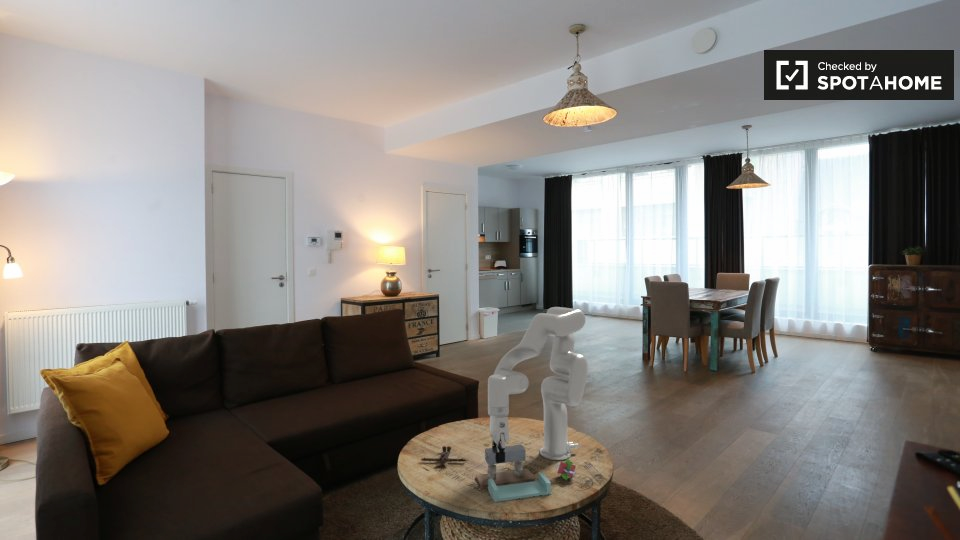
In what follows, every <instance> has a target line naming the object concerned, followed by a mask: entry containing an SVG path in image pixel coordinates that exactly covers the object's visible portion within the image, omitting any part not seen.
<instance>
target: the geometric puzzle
mask: <svg viewBox="0 0 960 540" xmlns="http://www.w3.org/2000/svg"><path fill="white" fill-rule="evenodd" d="M564 460H565V461H564ZM564 460H560V461H558V462H557V463H556V465H555V471H556V473H557V474H558V475H559V476H560V477H562V479H564V480H565V481H566V482H568V481H569V480H570V479H572V478H573V477H575V475H576V474H577V472H576V471H575V470H576V466H577V465H575V464H573V462H572V461H571V460H569V458H566V459H564ZM563 461H564V462H563ZM569 477H570V478H569ZM568 478H569V479H568Z"/></svg>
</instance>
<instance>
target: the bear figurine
mask: <svg viewBox="0 0 960 540" xmlns="http://www.w3.org/2000/svg"><path fill="white" fill-rule="evenodd" d="M451 451H452V447H451V446H449V445H448V446H445V445H444V446H442V452H441V454H440V457H437V458H435V457H431V458H430V457H422V458H420V461H423V462H437V463H436V464H435V465H436V466H440V467H442V468H443V467H444V468H445V467H447V466H448V465H449V463H452V462H460V463H461V462H466V461H467V459H466V458H464V457H462V458H449V456H450V454H451ZM448 462H449V463H448Z"/></svg>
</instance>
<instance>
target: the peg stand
mask: <svg viewBox="0 0 960 540" xmlns="http://www.w3.org/2000/svg"><path fill="white" fill-rule="evenodd" d="M513 463H514V464H513V465H514V466H513V468H514V470H513V469H512V470H505V471H497V464H491V465H488V464H487V473H481V474H476V475H475V476H476V477H475V478H476V480H477V482H478V484H479V486H480V488H481V489H485V488H488V479H493V480H494V482H495V484H496V486H503V485H511V484H518V483H526V482H534V481H536V478H535V476H534V475H533V473H532V472H531V471H530V470H529V468H523V467H524V466H523V461H516V462H513Z"/></svg>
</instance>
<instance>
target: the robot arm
mask: <svg viewBox="0 0 960 540" xmlns="http://www.w3.org/2000/svg"><path fill="white" fill-rule="evenodd" d="M585 325H586V315H585V313H584V312H583V310H581V309H578V308H572V307H571V308H569V307H563V306H561V307H560V306H553V307H550V308H548V309H547V310H546V313H545V312H541V313H537V314H535V315H534V316H533V318H532V319H531V322H530V324H529V325H528V327H527V329H526V331H525V333H524V335H523V337H522V338H521V341H520V343H519V344H517V345H515V346H514V347H513V348H511V349H510V350H509V351H507V353H505V354H504V355H503V356H502V357H501V359H500V360H499V362H498V364H497V365H496V367H495V369H494V372H493V374H491V375H490V376H489V377H488V379H487V414H488V416H489V435H490V438H491V440H492V441H491V448H496V447H497V452H496V463H499V464H505V463H504V462H505V448H506V444H509V443H510V428H509V419H508V416H509V411H510V409H509V408H510V405H509V403H510V402H509V401H510V397H509V396H510V395H516V394H517V395H518V394H521V393H524V392H525V391H527V390H528V388H529V385H530V381H529V378H528V376H527V375H525V374H524V373H522V372H519V371H516V370H513V368H515V366H517V364H520V363H521V362H522V361H526V360H529V359H532V358H535V357H537V356H539V355H540V354H541V352H542V350H543V348H544V347H545V344H546V342H547V340H548V338H549V337H553V343H552V348H551V354H550V359H549V368H550V371H551V372H553V373H555V374H558V375H561V376H566V377H568V379H567V378H563V377H558V376H554V375H553V376H552V375H551V376H547V377H546V378H544V379H543V380H542V382H541V386H540V391H541V397H542V405H543V446H542V447H541V448H540V449H539V453H540V455H541V456H542V457H543V458H545V459H548V460H552V461H553V460H554V461H564V459H565V460H566V458H567V459H569V458H570V457H571V456H572V449H579V448H580V447H579V443H574V442H573V441H569V442H568V410H567V406H570V407H576V406H578V405H579V404H580V403H581V402H582V400H583V397H584V393H585V387H586V382H587V377H588V370H589V365H588V361H587V358H586V357H585V356H584V355H583V354H580V353H578V352H577V353H576V352H574V348H575V336H574V333H576V332H578V331H581V329H583V328H584V326H585Z"/></svg>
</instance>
